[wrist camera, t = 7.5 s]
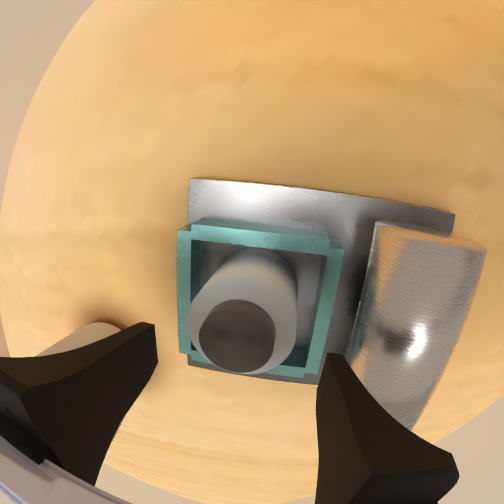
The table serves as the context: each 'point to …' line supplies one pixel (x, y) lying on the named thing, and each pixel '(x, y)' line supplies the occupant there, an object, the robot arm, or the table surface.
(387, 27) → the table surface
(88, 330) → the cup
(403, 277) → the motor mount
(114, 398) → the robot arm
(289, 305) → the grey capped cylinder
